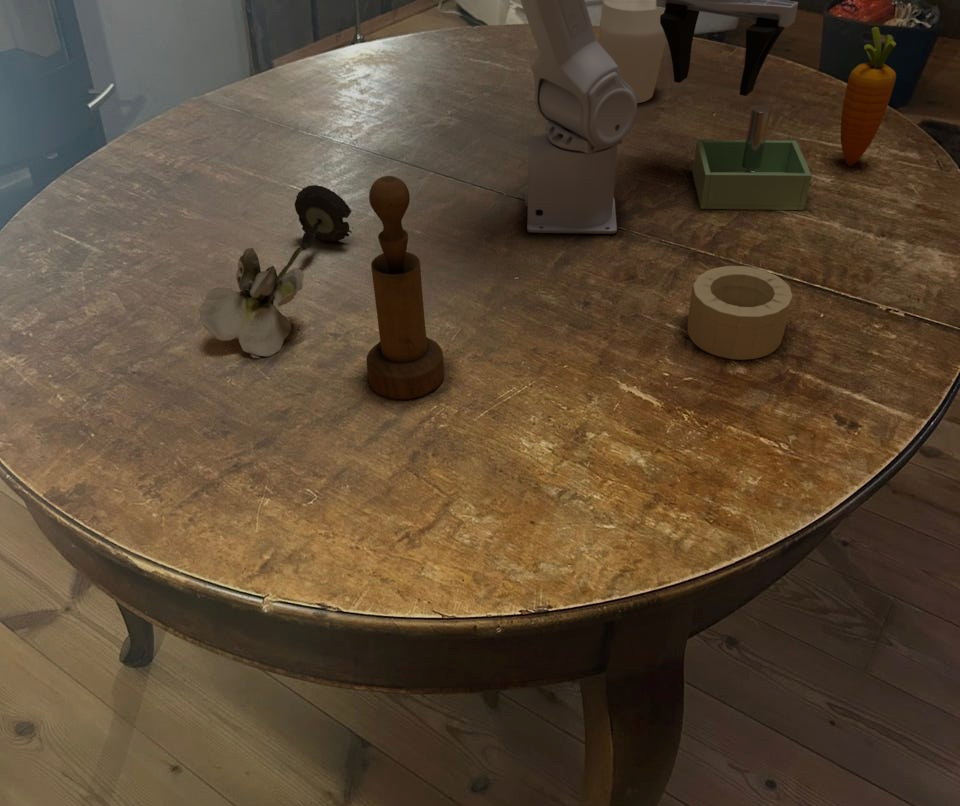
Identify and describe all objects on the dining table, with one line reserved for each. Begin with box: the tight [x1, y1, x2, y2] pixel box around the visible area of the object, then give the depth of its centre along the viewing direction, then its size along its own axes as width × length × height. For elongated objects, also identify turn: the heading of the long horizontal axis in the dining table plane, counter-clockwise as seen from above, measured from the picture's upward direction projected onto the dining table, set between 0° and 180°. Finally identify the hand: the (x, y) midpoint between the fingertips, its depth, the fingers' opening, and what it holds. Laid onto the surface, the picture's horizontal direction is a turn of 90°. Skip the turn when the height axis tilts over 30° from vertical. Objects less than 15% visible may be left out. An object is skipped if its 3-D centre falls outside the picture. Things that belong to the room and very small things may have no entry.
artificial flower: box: [198, 184, 354, 359], centre depth 88 cm, size 9×22×10 cm, turn 160°
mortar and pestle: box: [366, 175, 445, 400], centre depth 74 cm, size 7×6×18 cm
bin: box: [692, 139, 813, 211], centre depth 104 cm, size 11×9×4 cm
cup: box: [599, 0, 667, 104], centre depth 123 cm, size 9×9×12 cm
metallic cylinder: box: [742, 104, 772, 173], centre depth 102 cm, size 2×3×9 cm
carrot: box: [840, 26, 897, 167], centre depth 104 cm, size 5×5×15 cm
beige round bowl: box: [686, 265, 794, 361], centre depth 83 cm, size 8×8×4 cm
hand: (712, 86), depth 101 cm, fingers open, 7 cm apart
